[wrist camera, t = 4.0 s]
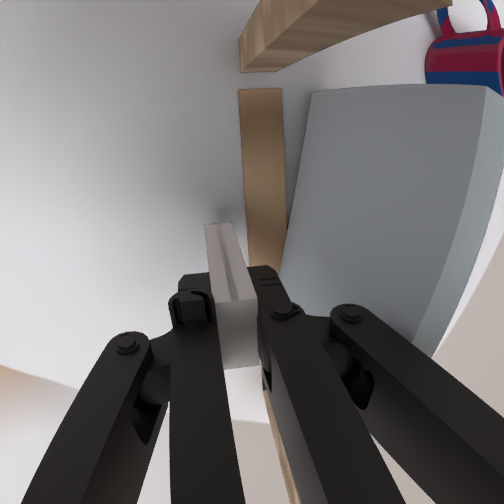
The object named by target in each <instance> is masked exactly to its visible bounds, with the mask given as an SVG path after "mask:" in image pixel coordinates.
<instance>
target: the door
mask: <svg viewBox="0 0 504 504" xmlns="http://www.w3.org/2000/svg"><path fill="white" fill-rule="evenodd" d="M503 166H504V97H502V96H501V95H499V94H498V93H496V92H495V91H493V90H492V89H490V88H489V87H487V86H480V85H460V84H400V85H379V86H365V87H353V88H342V89H333V90H324V91H316V92H312V94H311V101H310V107H309V113H308V119H307V125H306V131H305V137H304V143H303V148H302V154H301V160H300V166H299V171H298V177H297V182H296V188H295V193H294V199H293V204H292V209H291V215H290V220H289V225H288V230H287V235H286V241H285V246H284V251H283V256H282V261H281V266H280V271H279V279H280V280H281V282H282V284H283V286H284V288H285V290H286V292H287V294H288V296H289V298H290V300H291V302H294V303H296V304H298V305H300V306H301V308H302V309H303V310H304V312H305V313H306V314H308V315H312V316H326V317H330V312H331V311H332V309H333V308H334V307H336V306H338V305H341V304H357V305H361V306H363V307H365V308H366V309H368V310H369V311H371V312H372V313H373V314H375V315H376V316H377V317H378V318H380V319H381V320H382V321H384V322H385V323H386V324H387V325H389V326H390V327H391V328H393V329H394V330H395V331H396V332H398V333H399V334H400V335H402V336H403V337H404V338H405V339H407V340H408V341H409V342H410V343H412V344H413V345H414V346H416V347H417V348H418V349H419V350H421V351H422V352H423V353H424V354H426V355H427V356H428V357H429V358H432V356H433V354H434V352H435V351H436V349H437V347H438V345H439V343H440V341H441V339H442V337H443V335H444V333H445V331H446V329H447V327H448V325H449V323H450V321H451V319H452V317H453V314H454V312H455V310H456V308H457V306H458V303H459V301H460V299H461V297H462V294H463V292H464V290H465V287H466V285H467V282H468V280H469V277H470V275H471V272H472V270H473V267H474V264H475V262H476V259H477V256H478V254H479V251H480V248H481V245H482V242H483V239H484V236H485V233H486V230H487V227H488V223H489V220H490V217H491V213H492V210H493V206H494V203H495V199H496V195H497V191H498V187H499V183H500V179H501V175H502V170H503ZM370 435H371V434H370ZM371 437H372V439H373V440H374V442H375V444H376V443H377V441H376V439H375V438H374V437H373V436H372V435H371Z"/></svg>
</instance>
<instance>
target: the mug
mask: <svg viewBox="0 0 504 504" xmlns="http://www.w3.org/2000/svg"><path fill="white" fill-rule="evenodd" d="M479 1H480V2H481V3H482V5H483V6H484V8H485V11H486V14H487V20H488V24H487V30H483V31H474V32H466V33H455V31H454V29H453V27H452V25H451V22H450V19H449V16H448V8H447V7H444V8H440V9H436V11H437V17H438V22H439V25H440V29H441V32H442V35H443V37H440V38H438V39H437V40H435V41H434V42H433V43H432V45H431V46H430V48H429V50H428V53H427V56H426V63H425V73H426V80H427V84H460V85H480V86H487V87H489V88H490V89H492V90H493V91H495V92H496V93H498V94H499V95H501V96H502V97H504V29H503V28H501V25H500V20H499V16H498V13H497V10H496V8H495V6H494V4H493V2H492V1H491V0H479Z"/></svg>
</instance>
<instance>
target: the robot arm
mask: <svg viewBox="0 0 504 504" xmlns="http://www.w3.org/2000/svg"><path fill="white" fill-rule="evenodd" d="M204 227H205V237H206V247H207V257H208V266H209V272H206V273H197V274H187V275H184V276H183V277H182V278H181V279H180V281H179V282H178V293H176V294H174V295H173V296H172V297H171V298H170V299H169V302H168V306H169V311H170V315H171V320H172V325H173V329H172V330H171V331H169V332H168V333H166V334H165V335H162V336H160V337H157V338H154V339H151V340H149V339H148V337H147V336H146V335H144V334H143V333H140V332H136V331H133V332H125V333H121V334H119V335H117V336H115V337H114V338H112V339H111V340H110V341H109V343H108V344H107V346H106V347H105V349H104V350H103V352H102V354H101V355H100V357H99V359H98V360H97V362H96V364H95V365H94V367H93V368H92V370H91V372H90V374H89V375H88V377H87V379H86V380H85V382H84V384H83V385H82V387H81V389H80V391H79V392H78V394H77V396H76V398H75V399H74V401H73V403H72V405H71V407H70V408H69V410H68V412H67V414H66V415H65V417H64V419H63V421H62V423H61V424H60V426H59V428H58V430H57V432H56V434H55V436H54V438H53V439H52V441H51V443H50V445H49V447H48V449H47V451H46V453H45V455H44V457H43V459H42V461H41V463H40V465H39V467H38V469H37V471H36V473H35V475H34V477H33V479H32V481H31V483H30V485H29V488H28V489H27V491H26V494H25V496H24V498H23V501H22V502H21V504H137V501H138V498H139V495H140V492H141V488H142V485H143V482H144V479H145V475H146V472H147V469H148V466H149V463H150V460H151V456H152V453H153V450H154V447H155V444H156V441H157V438H158V435H159V431H160V428H161V425H162V422H163V419H164V416H165V413H166V410H167V407H168V402H169V401H170V418H169V428H170V430H169V438H170V439H169V443H170V444H169V448H170V488H171V489H170V491H171V504H246V503H245V498H244V493H243V487H242V481H241V476H240V470H239V465H238V459H237V453H236V448H235V442H234V436H233V430H232V423H231V417H230V410H229V404H228V397H227V390H226V384H225V377H224V370H225V369H233V368H241V367H248V366H255V365H260V363H259V357H260V360H261V364H262V377H263V391H265V390H267V393H268V397H269V400H270V403H271V407H272V410H273V413H274V417H275V420H276V423H277V427H278V430H279V433H280V437H281V440H282V443H283V446H284V450H285V453H286V456H287V459H288V463H289V466H290V469H291V472H292V475H293V479H294V482H295V485H296V488H297V491H298V494H299V497H300V501H301V504H406V503H405V501H404V499H403V497H402V495H401V493H400V491H399V489H398V487H397V485H396V483H395V481H394V479H393V477H392V475H391V473H390V471H389V469H388V467H387V465H386V464H385V462H384V460H383V458H382V456H381V454H380V452H379V450H378V448H377V446H376V444H375V442H374V440H373V439H372V437H371V435H372V436H373V437H374V438H375V439H376V441H377V442H378V443H379V444H380V445H381V446H382V447H383V448H384V449H385V450H386V451H387V452H388V454H389V455H390V456H391V457H392V458H393V459H394V460H395V461H396V462H397V463H398V464H399V465H400V466H401V468H403V469H404V471H405V472H406V473H407V474H408V475H409V476H410V477H411V478H412V479H413V480H414V481H415V482H416V483H417V484H418V486H419V487H420V488H421V489H422V490H423V491H424V492H425V493H426V494H427V495H428V496H429V497H430V498H431V499H432V500H433V501H434V502H435V503H436V504H504V418H503V417H502V416H501V415H500V414H498V413H497V412H496V411H495V410H494V409H492V408H491V407H490V406H489V405H487V404H486V403H485V402H484V401H483V400H482V399H480V398H479V397H478V396H477V395H475V394H474V393H473V392H472V391H471V390H469V389H468V388H467V387H465V386H464V385H463V384H462V383H461V382H459V381H458V380H457V379H456V378H454V377H453V376H452V375H451V374H449V373H448V372H447V371H445V370H444V369H443V368H442V367H441V366H439V365H438V364H437V363H436V362H434V361H433V360H432V359H431V358H429V357H428V356H427V355H426V354H424V353H423V352H422V351H421V350H419V349H418V348H417V347H416V346H414V345H413V344H412V343H410V342H409V341H408V340H407V339H405V338H404V337H403V336H402V335H400V334H399V333H398V332H396V331H395V330H394V329H393V328H391V327H390V326H389V325H387V324H386V323H385V322H384V321H382V320H381V319H380V318H378V317H377V316H376V315H375V314H373V313H372V312H371V311H369V310H368V309H366V308H365V307H363V306H361V305H357V304H341V305H338V306H336V307H334V308H333V309H332V311H331V312H330V317H326V316H312V315H308V314H306V313H305V312H304V310H303V309H302V308H301V306H300V305H298V304H296V303H294V302H291V300H290V298H289V296H288V294H287V292H286V290H285V288H284V286H283V284H282V282H281V280H280V279H279V276H278V274H277V272H276V270H274V269H273V268H271V267H270V266H268V265H261V266H252V267H246V264H245V261H244V258H243V255H242V252H241V249H240V246H239V243H238V240H237V237H236V235H235V232H234V229H233V226H232V223H231V222H229V223H218V224H208V225H204ZM370 434H371V435H370Z"/></svg>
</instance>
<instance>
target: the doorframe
mask: <svg viewBox="0 0 504 504" xmlns="http://www.w3.org/2000/svg"><path fill="white" fill-rule="evenodd" d="M452 5H453V4H452V0H260V2H259V4H258V5H257V7H256V9H255V11H254V12H253V14H252V16H251V18H250V20H249V21H248V23H247V25H246V27H245V29H244V31H243V32H242V34H241V36H240V38H239V56H240V72H241V73H245V72H277V71H279V70H281V69H283V68H285V67H287V66H289V65H291V64H293V63H295V62H297V61H299V60H301V59H303V58H306V57H308V56H310V55H312V54H314V53H317V52H319V51H321V50H323V49H326V48H328V47H330V46H333V45H335V44H337V43H340V42H342V41H345V40H347V39H350V38H352V37H355V36H357V35H360V34H362V33H365V32H368V31H370V30H373V29H376V28H379V27H381V26H384V25H387V24H390V23H393V22H396V21H399V20H402V19H405V18H409V17H412V16H415V15H419V14H422V13H425V12H429V11H433V10H436V9H440V8H444V7H448V6H452ZM238 98H239V114H240V129H241V145H242V160H243V175H244V191H245V206H246V221H247V236H248V251H249V265H250V267H252V266H261V265H268V266H270V267H271V268H273V269H274V270H276V272H277V274H278V276H279V271H280V266H281V261H282V256H283V251H284V246H285V241H286V235H287V221H286V180H285V150H284V125H283V104H282V88H264V89H241V90H238ZM261 366H262V364H261ZM262 384H263V377H262ZM263 395H264V399H265V404H266V408H267V412H268V416H269V420H270V424H271V428H272V433H273V437H274V441H275V445H276V449H277V453H278V457H279V461H280V465H281V469H282V473H283V477H284V480H285V485H286V488H287V493H288V497H289V500H290V504H301V501H300V497H299V494H298V491H297V488H296V485H295V482H294V479H293V475H292V472H291V469H290V466H289V463H288V459H287V456H286V453H285V450H284V446H283V443H282V440H281V437H280V433H279V430H278V427H277V423H276V420H275V417H274V413H273V410H272V407H271V403H270V400H269V397H268V393H267V390H265V391H263Z"/></svg>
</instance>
